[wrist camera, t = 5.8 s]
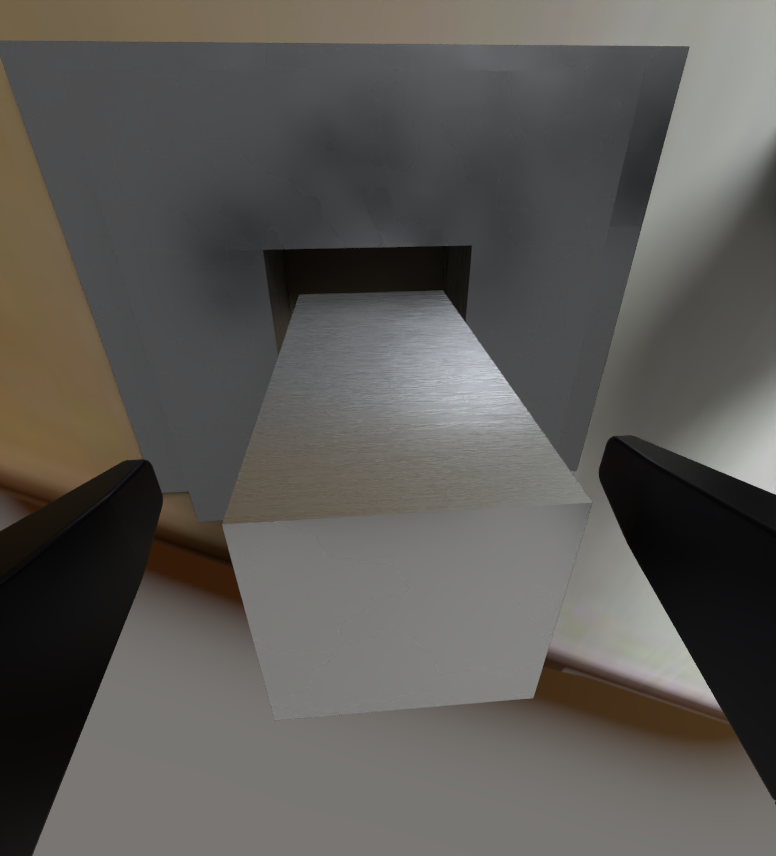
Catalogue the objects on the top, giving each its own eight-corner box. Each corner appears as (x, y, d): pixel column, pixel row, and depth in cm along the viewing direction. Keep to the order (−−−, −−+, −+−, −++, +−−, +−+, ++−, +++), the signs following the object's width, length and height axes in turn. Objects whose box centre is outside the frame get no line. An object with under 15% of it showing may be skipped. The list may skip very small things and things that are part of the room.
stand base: (673, 51, 14) (836, 0, 10) (569, 461, 23) (629, 542, 18) (13, 46, 13) (-180, -16, 8) (161, 482, 21) (108, 576, 17)
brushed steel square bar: (442, 290, 13) (592, 502, 5) (435, 427, 15) (528, 714, 7) (299, 294, 12) (221, 524, 5) (314, 432, 15) (278, 736, 7)
